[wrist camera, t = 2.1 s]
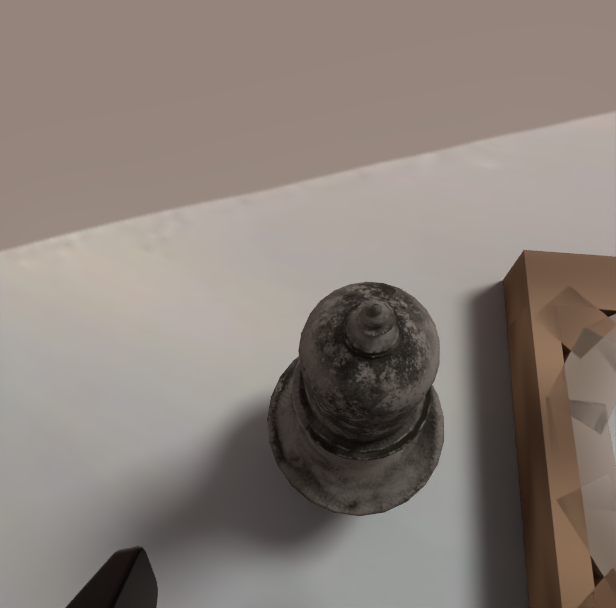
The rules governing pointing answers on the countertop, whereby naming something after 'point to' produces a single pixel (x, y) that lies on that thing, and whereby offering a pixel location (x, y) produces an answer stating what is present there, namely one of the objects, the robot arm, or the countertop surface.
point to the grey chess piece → (360, 402)
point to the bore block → (565, 423)
